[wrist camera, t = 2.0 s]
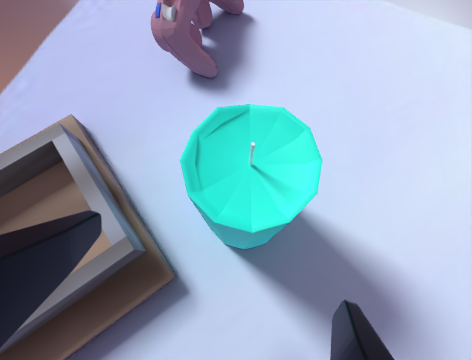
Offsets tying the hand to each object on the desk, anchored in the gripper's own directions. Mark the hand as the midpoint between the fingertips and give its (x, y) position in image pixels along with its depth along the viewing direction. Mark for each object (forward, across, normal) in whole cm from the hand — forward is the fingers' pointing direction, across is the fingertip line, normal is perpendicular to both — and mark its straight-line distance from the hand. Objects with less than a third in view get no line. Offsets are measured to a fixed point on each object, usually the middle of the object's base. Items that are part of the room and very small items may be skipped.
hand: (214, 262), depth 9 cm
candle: (+11, 0, +5) cm, 12 cm away
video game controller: (+22, +9, -6) cm, 25 cm away
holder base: (+6, +13, +9) cm, 17 cm away
